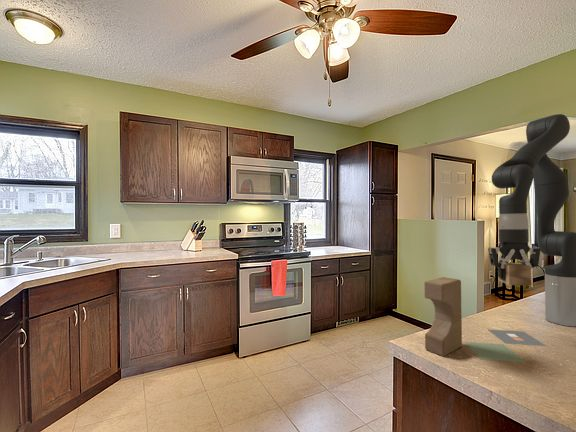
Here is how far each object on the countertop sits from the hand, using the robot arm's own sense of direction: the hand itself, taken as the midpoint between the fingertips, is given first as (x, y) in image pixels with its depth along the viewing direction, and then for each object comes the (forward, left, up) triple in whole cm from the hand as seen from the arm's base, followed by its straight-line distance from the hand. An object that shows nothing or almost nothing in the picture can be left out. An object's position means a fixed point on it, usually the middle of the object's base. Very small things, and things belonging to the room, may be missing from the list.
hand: (514, 279), depth 91 cm
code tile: (0, 0, -18) cm, 18 cm away
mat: (+12, +12, -18) cm, 25 cm away
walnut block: (0, 0, -1) cm, 1 cm away
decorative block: (+25, +12, -19) cm, 34 cm away
